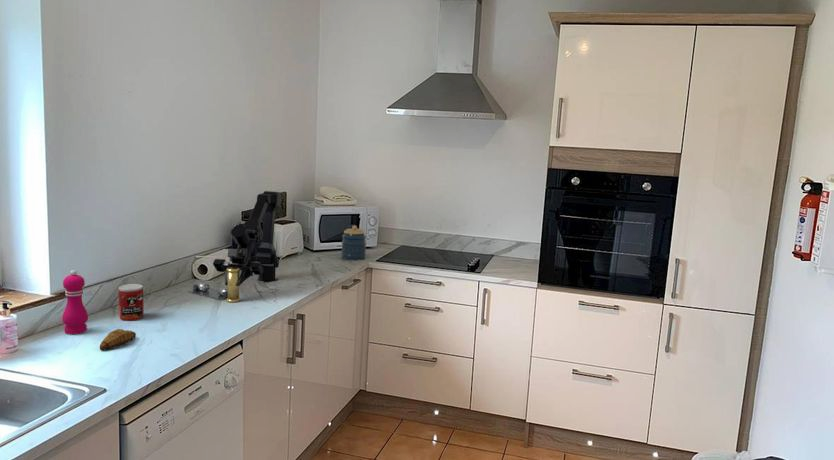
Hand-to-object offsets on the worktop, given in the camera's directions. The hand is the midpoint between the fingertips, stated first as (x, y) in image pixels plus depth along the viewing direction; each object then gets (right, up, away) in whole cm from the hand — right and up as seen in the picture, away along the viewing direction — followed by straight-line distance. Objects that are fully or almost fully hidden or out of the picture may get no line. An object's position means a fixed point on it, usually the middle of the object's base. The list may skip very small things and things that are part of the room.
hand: (231, 285), depth 234 cm
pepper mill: (-38, -11, -39) cm, 56 cm away
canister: (+37, +6, +93) cm, 101 cm away
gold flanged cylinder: (0, -6, +2) cm, 7 cm away
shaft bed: (-11, -4, +11) cm, 16 cm away
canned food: (-27, -9, -23) cm, 37 cm away
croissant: (-20, -14, -49) cm, 54 cm away
